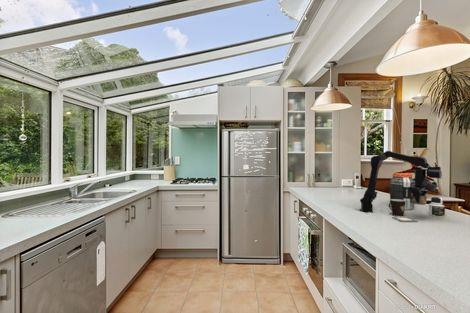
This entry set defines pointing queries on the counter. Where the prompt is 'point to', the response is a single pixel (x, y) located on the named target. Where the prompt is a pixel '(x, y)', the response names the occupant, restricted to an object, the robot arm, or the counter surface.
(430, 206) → the medicine bottle
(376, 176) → the robot arm
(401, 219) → the pad
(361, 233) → the counter surface
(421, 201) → the letter block
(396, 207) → the coffee mug
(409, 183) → the supplement tub
